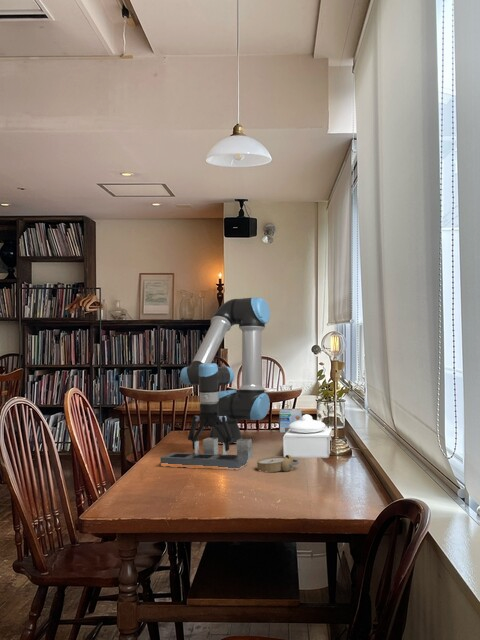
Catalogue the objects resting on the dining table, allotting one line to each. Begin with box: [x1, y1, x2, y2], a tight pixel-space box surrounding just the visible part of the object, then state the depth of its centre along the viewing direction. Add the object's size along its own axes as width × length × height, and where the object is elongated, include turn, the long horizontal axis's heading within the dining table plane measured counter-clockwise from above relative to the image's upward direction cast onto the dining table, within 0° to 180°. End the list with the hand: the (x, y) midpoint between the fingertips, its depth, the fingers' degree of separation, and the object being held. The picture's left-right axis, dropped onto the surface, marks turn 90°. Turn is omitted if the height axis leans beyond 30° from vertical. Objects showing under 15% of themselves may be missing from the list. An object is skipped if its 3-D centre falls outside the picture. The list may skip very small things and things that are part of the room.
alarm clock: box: [255, 455, 299, 473], centre depth 223 cm, size 11×5×15 cm
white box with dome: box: [282, 414, 333, 459], centre depth 250 cm, size 18×18×16 cm
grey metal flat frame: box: [160, 452, 248, 468], centre depth 233 cm, size 10×31×4 cm, turn 70°
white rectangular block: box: [236, 438, 253, 460], centre depth 240 cm, size 4×4×8 cm
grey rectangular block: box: [202, 437, 219, 454], centre depth 245 cm, size 4×4×8 cm
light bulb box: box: [279, 408, 303, 434], centre depth 304 cm, size 11×7×11 cm, turn 80°
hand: (211, 458), depth 244 cm, fingers open, 11 cm apart
